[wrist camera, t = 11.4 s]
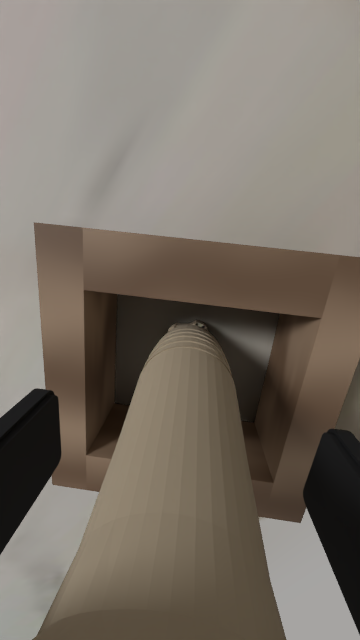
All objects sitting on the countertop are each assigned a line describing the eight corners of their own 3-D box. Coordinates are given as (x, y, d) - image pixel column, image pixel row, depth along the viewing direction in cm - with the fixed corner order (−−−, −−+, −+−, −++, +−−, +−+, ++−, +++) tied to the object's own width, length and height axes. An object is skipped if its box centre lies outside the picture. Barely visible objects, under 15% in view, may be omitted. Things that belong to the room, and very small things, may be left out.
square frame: (85, 230, 14) (33, 222, 10) (330, 257, 13) (394, 261, 9) (87, 428, 18) (52, 484, 14) (275, 454, 17) (300, 522, 13)
